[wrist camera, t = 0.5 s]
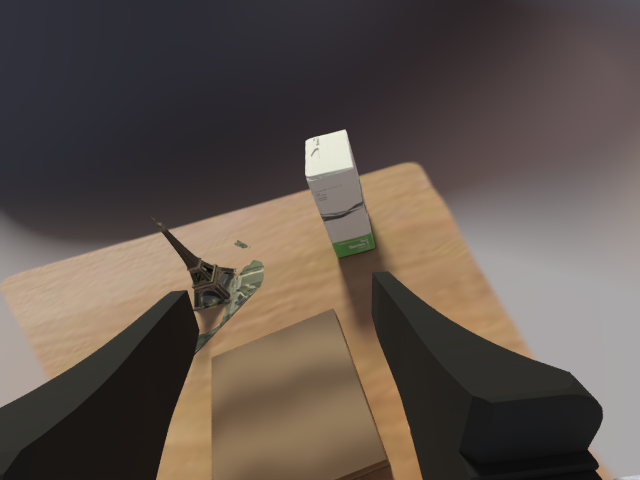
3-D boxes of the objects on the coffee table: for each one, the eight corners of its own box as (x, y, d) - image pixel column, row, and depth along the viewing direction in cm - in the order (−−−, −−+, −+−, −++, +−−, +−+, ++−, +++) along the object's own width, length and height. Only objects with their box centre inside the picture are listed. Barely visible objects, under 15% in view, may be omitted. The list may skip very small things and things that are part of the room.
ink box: (376, 249, 37) (356, 166, 29) (335, 259, 38) (304, 181, 30) (365, 204, 44) (346, 125, 35) (330, 213, 44) (304, 138, 36)
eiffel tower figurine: (192, 363, 35) (100, 296, 25) (154, 320, 41) (68, 253, 32) (283, 266, 41) (235, 184, 32) (238, 242, 47) (187, 167, 38)
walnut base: (390, 464, 23) (386, 459, 22) (225, 529, 23) (211, 528, 22) (338, 318, 33) (333, 308, 31) (221, 365, 33) (211, 357, 31)
